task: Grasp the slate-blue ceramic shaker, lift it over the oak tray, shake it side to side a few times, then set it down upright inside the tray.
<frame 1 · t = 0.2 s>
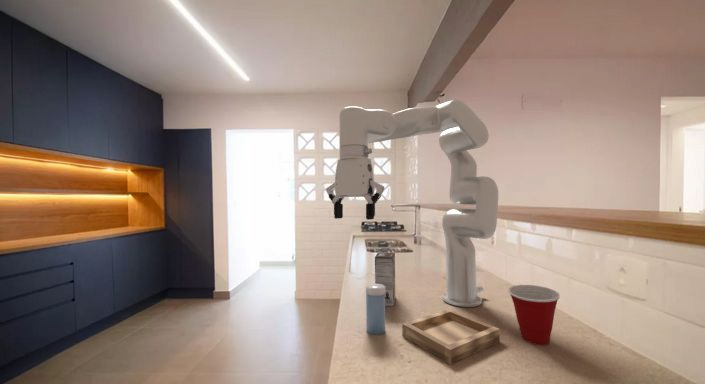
hand: (353, 218, 74), 30 cm above the countertop, tool pointing down, fingers open, 9 cm apart
tray: (449, 338, 69), on the countertop
plastic cup: (534, 340, 69), on the countertop
coffee box: (385, 301, 96), on the countertop
shaker: (375, 330, 74), on the countertop
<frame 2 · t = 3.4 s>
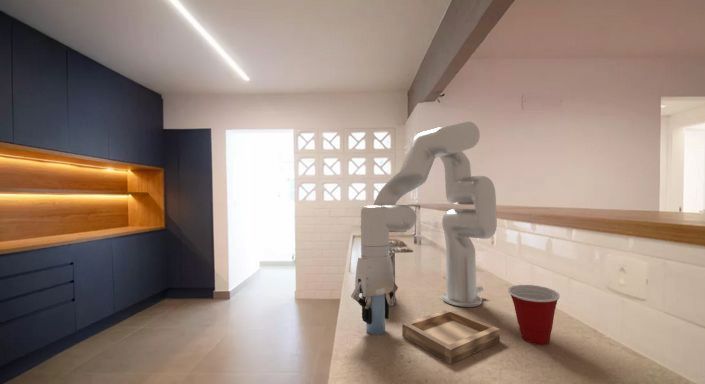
hand: (375, 319, 74), 3 cm above the countertop, tool pointing down, fingers closed on shaker, 5 cm apart
shaker: (375, 330, 74), on the countertop, touching gripper
everything else where it was.
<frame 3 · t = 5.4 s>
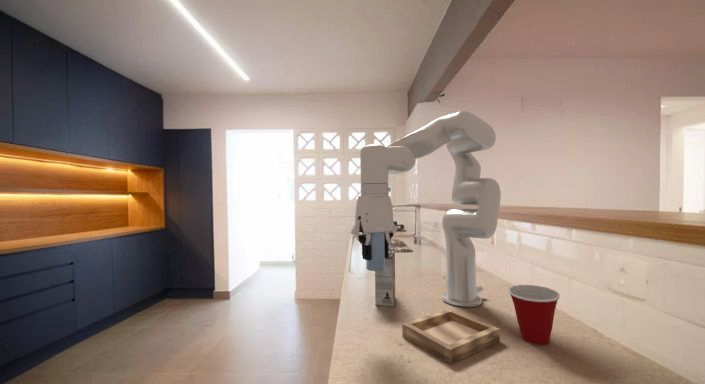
hand: (375, 257, 75), 19 cm above the countertop, tool pointing down, fingers closed on shaker, 5 cm apart
shaker: (375, 268, 75), point 16 cm above the countertop, touching gripper
everything else where it was.
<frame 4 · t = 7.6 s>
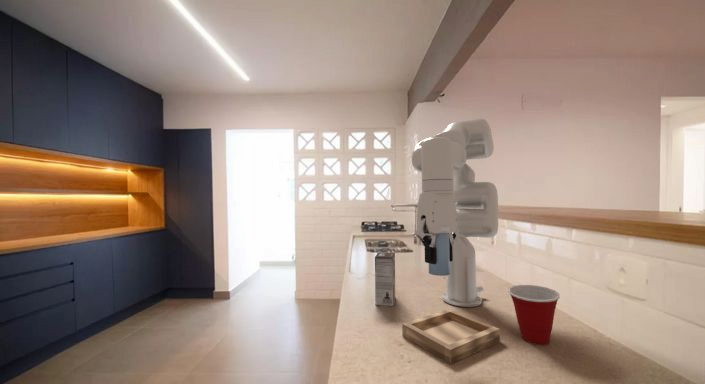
hand: (438, 261, 68), 20 cm above the countertop, tool pointing down, fingers closed on shaker, 5 cm apart
shaker: (439, 273, 68), point 17 cm above the countertop, touching gripper
everything else where it was.
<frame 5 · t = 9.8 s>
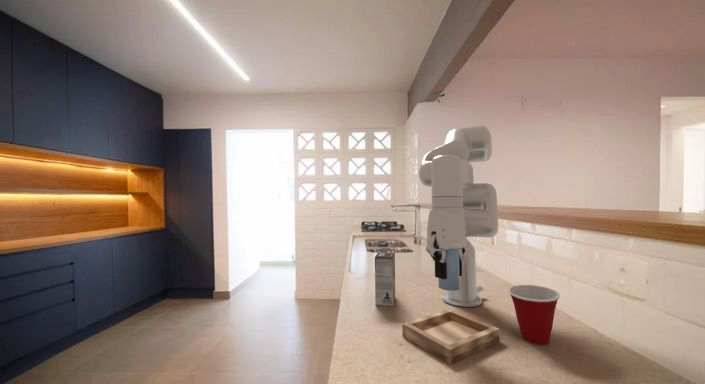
hand: (448, 275, 70), 16 cm above the countertop, tool pointing down, fingers closed on shaker, 5 cm apart
shaker: (449, 287, 70), point 13 cm above the countertop, touching gripper
everything else where it was.
when the fingers open (5 cm above the countertop, at t = 11.9 s): shaker stays where it is, resting on tray.
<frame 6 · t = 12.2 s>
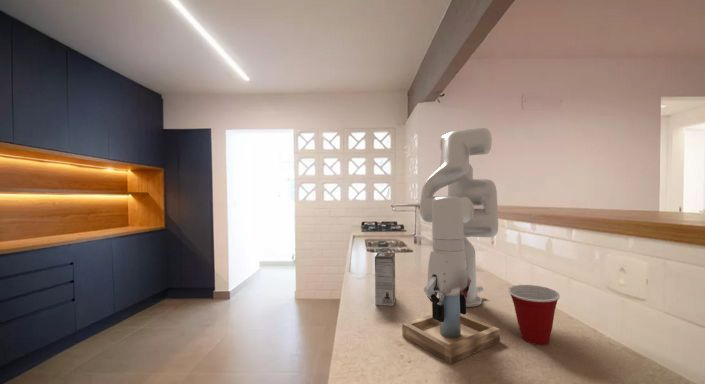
hand: (449, 315, 70), 6 cm above the countertop, tool pointing down, fingers open, 7 cm apart
shaker: (450, 333, 69), point 1 cm above the countertop, touching tray
everything else where it was.
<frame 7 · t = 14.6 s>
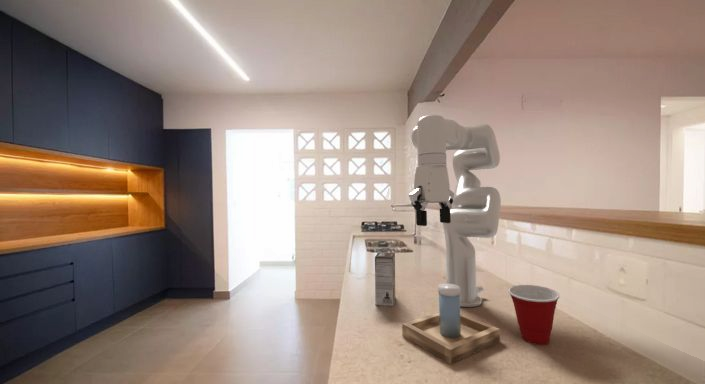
hand: (433, 224, 76), 28 cm above the countertop, tool pointing down, fingers open, 9 cm apart
nothing on the countertop moved.
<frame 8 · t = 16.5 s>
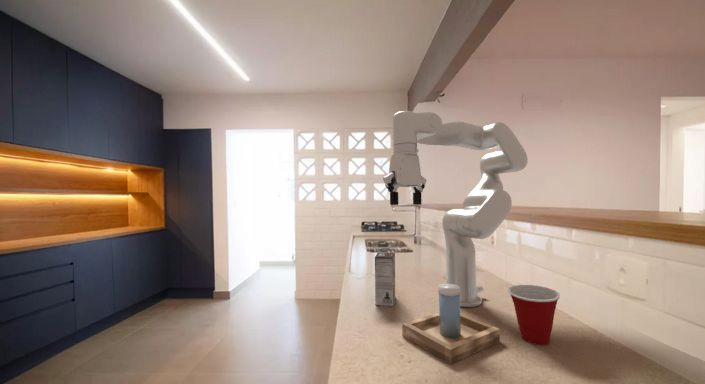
hand: (406, 204, 88), 33 cm above the countertop, tool pointing down, fingers open, 9 cm apart
nothing on the countertop moved.
at the end: shaker inside the target area on the tray (0.1 cm from its centre), point 1.2 cm above the tray's base; shaker tilted 0°; the gripper is holding nothing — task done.
